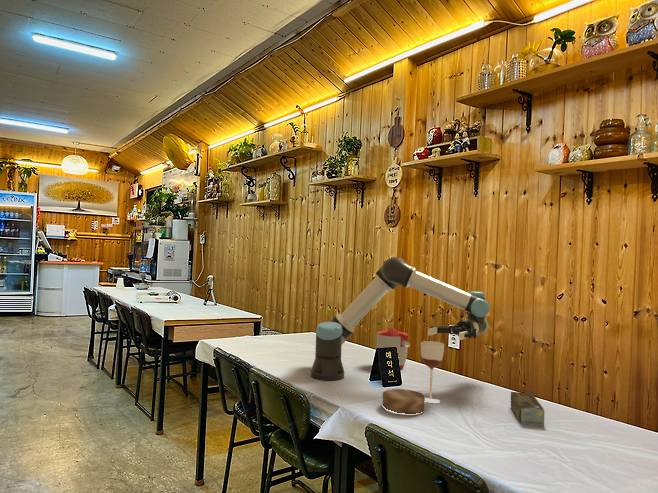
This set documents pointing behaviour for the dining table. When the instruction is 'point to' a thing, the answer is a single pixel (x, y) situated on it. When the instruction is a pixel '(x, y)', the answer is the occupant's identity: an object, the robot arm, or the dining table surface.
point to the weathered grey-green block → (527, 408)
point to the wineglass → (432, 356)
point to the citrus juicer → (394, 342)
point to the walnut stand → (403, 401)
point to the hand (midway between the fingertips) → (443, 334)
